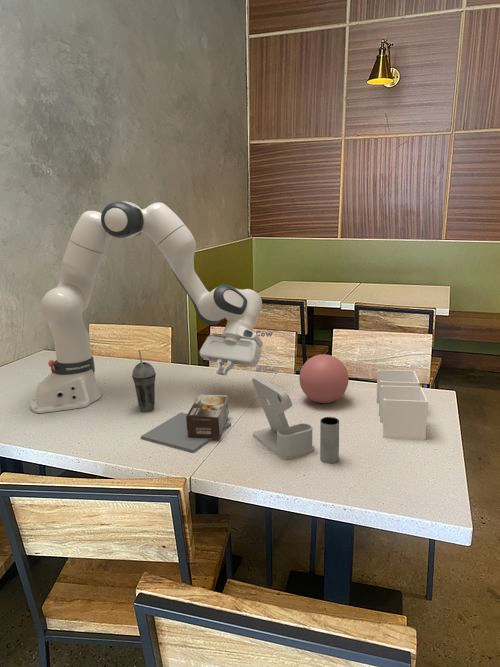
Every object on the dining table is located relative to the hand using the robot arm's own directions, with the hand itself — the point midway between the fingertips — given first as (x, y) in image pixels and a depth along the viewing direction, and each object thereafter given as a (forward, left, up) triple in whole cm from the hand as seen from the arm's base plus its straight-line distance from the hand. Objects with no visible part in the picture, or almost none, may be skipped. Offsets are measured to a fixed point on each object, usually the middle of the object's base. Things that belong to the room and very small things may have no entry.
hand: (221, 374), depth 151 cm
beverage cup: (-21, +13, -12) cm, 27 cm away
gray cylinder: (+9, -42, -12) cm, 45 cm away
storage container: (+41, -34, -12) cm, 54 cm away
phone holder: (+4, -29, -12) cm, 31 cm away
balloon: (+32, -10, -12) cm, 36 cm away
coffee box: (-4, -4, -8) cm, 9 cm away
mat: (-16, -9, -12) cm, 22 cm away
